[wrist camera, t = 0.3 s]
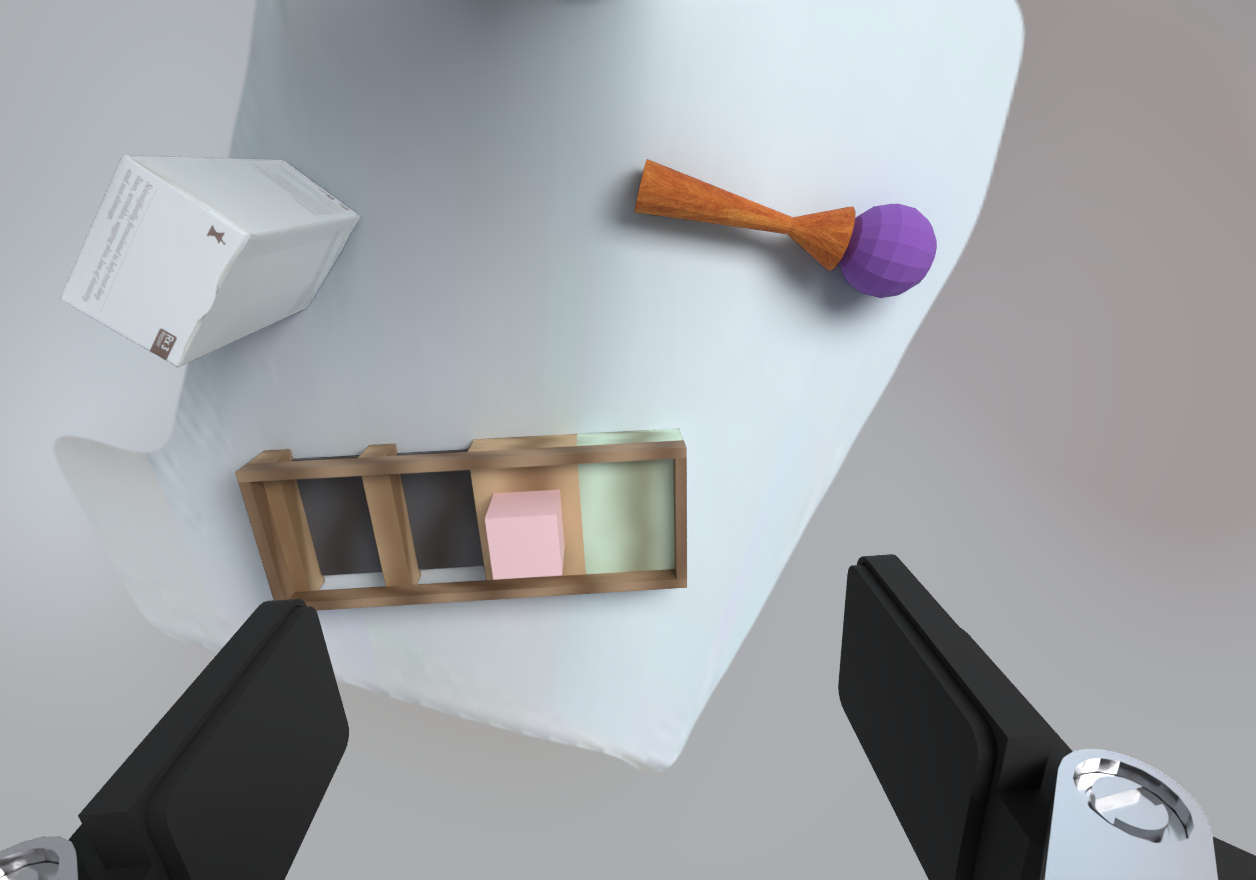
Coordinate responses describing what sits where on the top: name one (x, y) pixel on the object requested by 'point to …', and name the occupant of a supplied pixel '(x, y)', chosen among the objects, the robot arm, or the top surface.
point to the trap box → (469, 516)
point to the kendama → (808, 230)
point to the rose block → (525, 534)
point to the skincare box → (205, 251)
